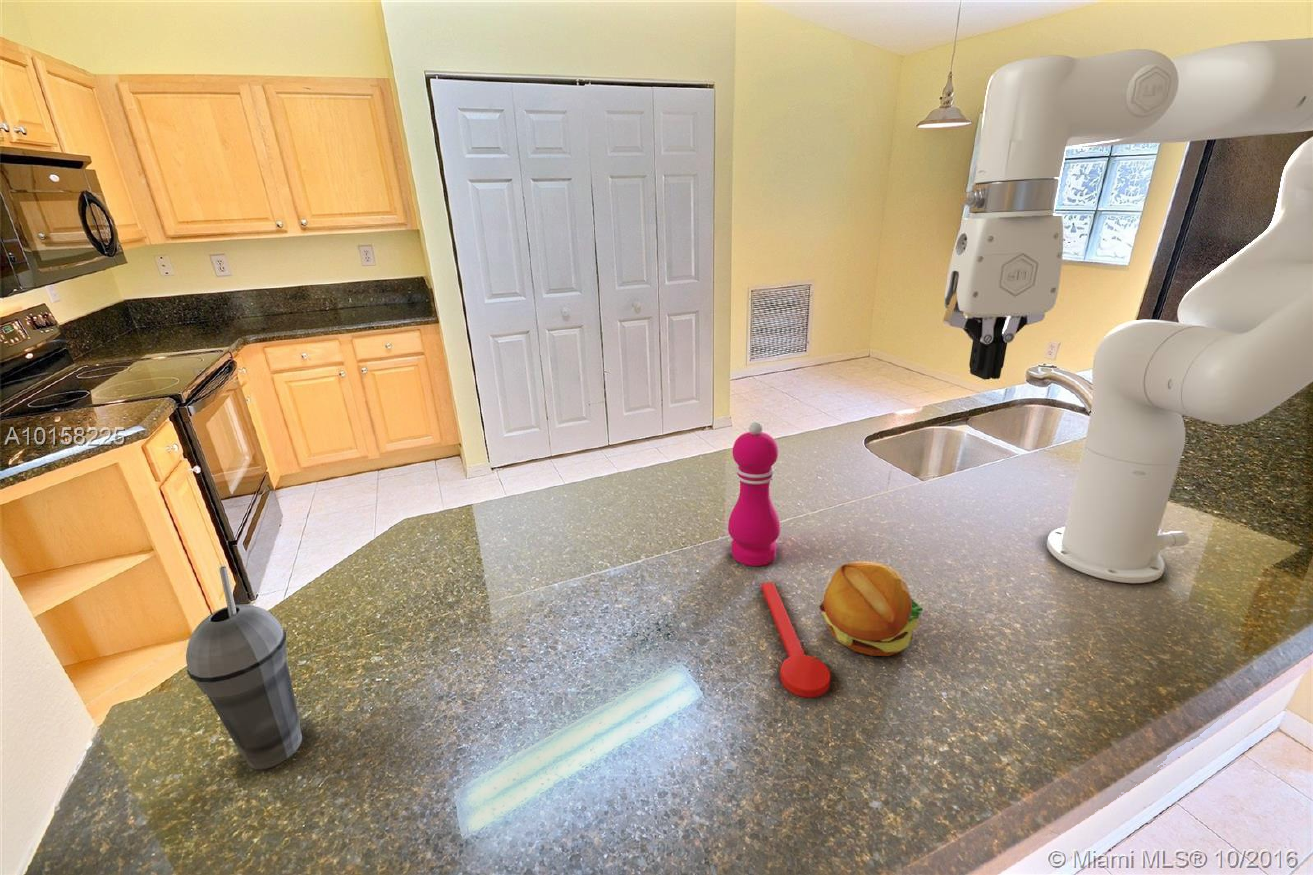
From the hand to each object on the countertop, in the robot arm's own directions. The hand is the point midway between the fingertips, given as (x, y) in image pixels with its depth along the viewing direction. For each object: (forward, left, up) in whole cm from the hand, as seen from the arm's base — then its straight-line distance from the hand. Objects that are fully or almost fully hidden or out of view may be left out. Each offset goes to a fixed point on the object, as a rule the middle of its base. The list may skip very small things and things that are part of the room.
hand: (984, 375), depth 65 cm
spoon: (+24, +9, -27) cm, 37 cm away
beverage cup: (+76, +18, -27) cm, 83 cm away
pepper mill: (+24, -9, -27) cm, 37 cm away
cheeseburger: (+15, +9, -27) cm, 32 cm away
